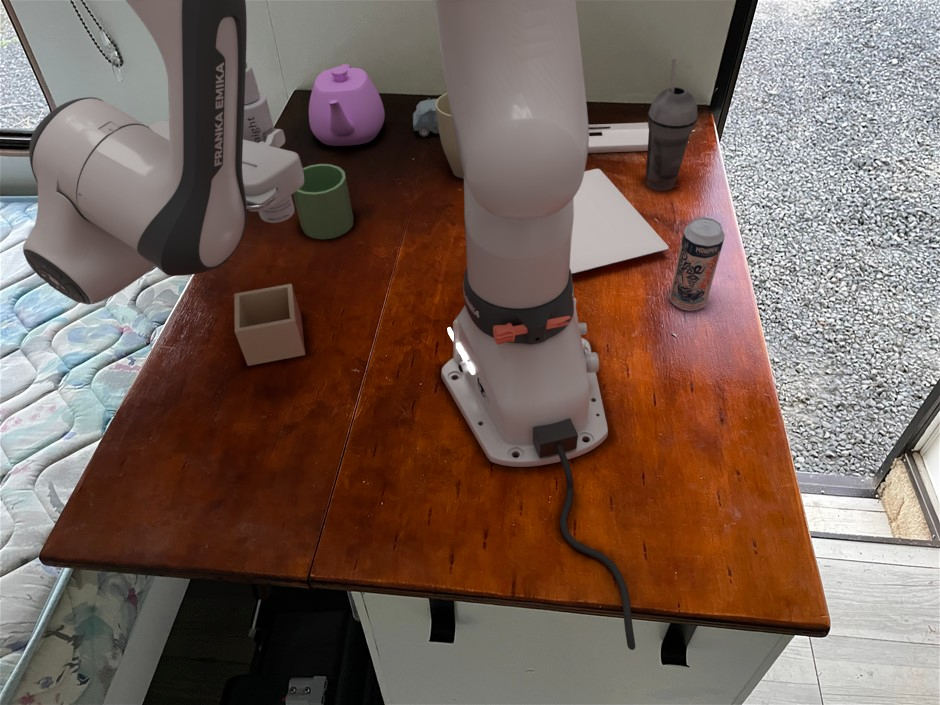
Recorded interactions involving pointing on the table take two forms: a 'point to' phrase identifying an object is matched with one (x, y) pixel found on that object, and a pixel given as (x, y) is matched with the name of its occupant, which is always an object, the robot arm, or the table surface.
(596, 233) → the plate
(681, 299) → the beer can
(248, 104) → the bottle
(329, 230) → the green cup
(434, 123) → the toy car
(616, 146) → the phone case
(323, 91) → the teapot
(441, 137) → the mug
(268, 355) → the ivory holder
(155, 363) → the table surface
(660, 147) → the beverage cup
